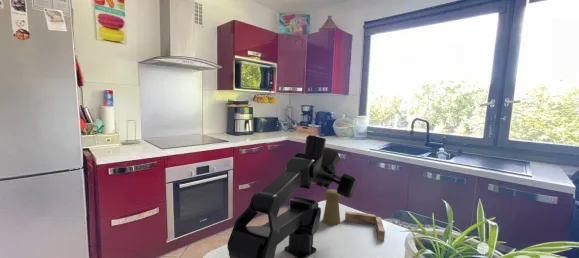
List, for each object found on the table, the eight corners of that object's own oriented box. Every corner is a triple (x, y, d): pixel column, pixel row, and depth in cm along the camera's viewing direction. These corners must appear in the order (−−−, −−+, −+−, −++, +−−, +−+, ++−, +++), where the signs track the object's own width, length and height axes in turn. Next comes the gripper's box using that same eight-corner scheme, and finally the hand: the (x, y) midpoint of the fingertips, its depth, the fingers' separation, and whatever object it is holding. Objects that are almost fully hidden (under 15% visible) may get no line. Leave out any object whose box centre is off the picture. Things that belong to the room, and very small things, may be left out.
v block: (381, 242, 78) (382, 232, 77) (342, 220, 91) (343, 211, 91) (398, 235, 82) (399, 226, 82) (359, 215, 96) (359, 207, 95)
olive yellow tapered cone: (341, 225, 87) (343, 193, 86) (323, 225, 87) (325, 193, 86) (338, 217, 93) (340, 187, 92) (321, 217, 93) (323, 187, 92)
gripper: (353, 157, 72) (371, 167, 84) (300, 139, 83) (323, 150, 95) (339, 196, 71) (360, 200, 83) (288, 172, 82) (312, 179, 95)
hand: (338, 180), depth 89 cm, fingers open, 9 cm apart
